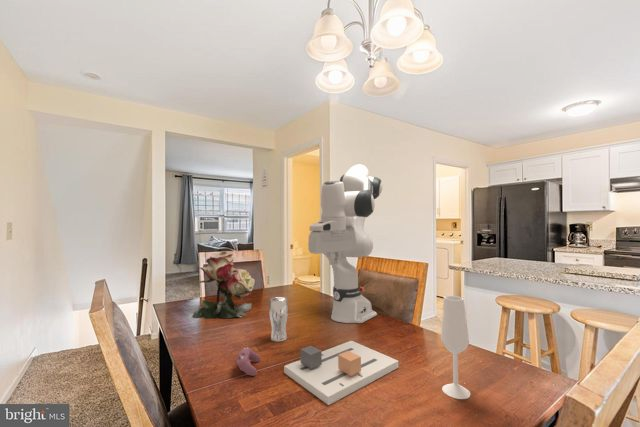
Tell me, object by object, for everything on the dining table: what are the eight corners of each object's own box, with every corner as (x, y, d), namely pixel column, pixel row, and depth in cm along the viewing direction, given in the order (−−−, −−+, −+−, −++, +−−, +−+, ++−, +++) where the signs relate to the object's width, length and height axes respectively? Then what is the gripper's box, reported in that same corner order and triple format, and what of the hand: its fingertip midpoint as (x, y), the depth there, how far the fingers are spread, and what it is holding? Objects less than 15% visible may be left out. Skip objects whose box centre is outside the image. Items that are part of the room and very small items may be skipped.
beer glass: (284, 342, 107) (284, 301, 108) (266, 341, 109) (266, 301, 109) (290, 335, 114) (289, 297, 114) (273, 334, 115) (273, 296, 116)
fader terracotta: (348, 364, 85) (348, 350, 85) (361, 371, 81) (360, 356, 81) (338, 369, 83) (338, 354, 83) (350, 376, 79) (350, 361, 79)
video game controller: (248, 366, 93) (238, 347, 93) (261, 359, 94) (251, 339, 94) (243, 383, 83) (232, 361, 83) (258, 375, 84) (246, 353, 84)
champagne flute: (462, 383, 79) (459, 294, 80) (476, 398, 72) (473, 301, 73) (437, 384, 79) (435, 295, 79) (449, 399, 72) (446, 301, 73)
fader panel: (351, 346, 104) (351, 340, 104) (398, 367, 88) (398, 360, 88) (284, 372, 86) (284, 365, 86) (328, 405, 70) (328, 396, 70)
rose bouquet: (251, 318, 135) (250, 253, 136) (187, 319, 135) (187, 254, 136) (261, 303, 161) (261, 248, 162) (208, 304, 161) (208, 249, 161)
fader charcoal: (311, 358, 89) (311, 345, 89) (321, 364, 85) (321, 350, 85) (300, 362, 87) (300, 349, 87) (310, 369, 83) (310, 354, 83)
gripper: (348, 225, 113) (348, 261, 113) (305, 226, 100) (306, 266, 100) (360, 225, 108) (360, 262, 108) (316, 226, 95) (317, 268, 95)
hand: (334, 264), depth 104 cm, fingers closed
